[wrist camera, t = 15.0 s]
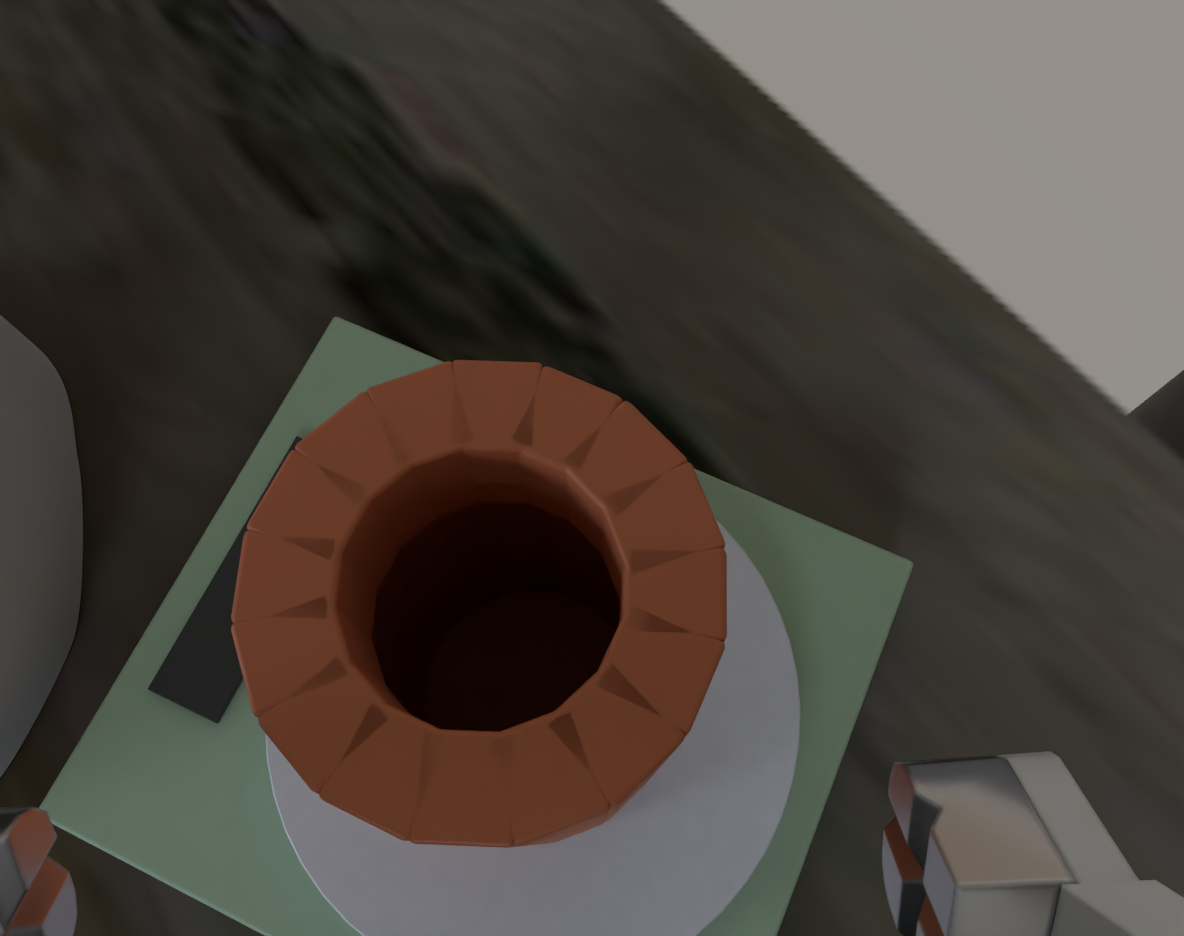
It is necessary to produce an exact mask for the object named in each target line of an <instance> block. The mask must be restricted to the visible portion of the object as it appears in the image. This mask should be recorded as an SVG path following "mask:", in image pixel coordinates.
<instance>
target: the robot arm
mask: <svg viewBox="0 0 1184 936" xmlns="http://www.w3.org/2000/svg"><path fill="white" fill-rule="evenodd" d="M888 796H889V799H890V801H891V804H892V806H893V809H894V812H895V814H896V817H895V818H894V819H893V820H892V821H891V822H890V823H889V824H888V825H887V826H886V827H885V828H884V833H883V847H882V863H883V875H884V885H885V890H886V894H887V898H888V903H889V907H890V910H891V913H892V916H893V919H894V922H895V925H896V928H897V930H898V931H899V932H900V933H902V934H903V935H904V936H1184V898H1183V897H1182V896H1180V895H1179V894H1177V893H1176V892H1174V891H1172V890H1171V889H1169V888H1168V887H1166V886H1164V885H1163V884H1161V883H1160V882H1158V881H1156V880H1142V881H1139V879H1138V878H1137V876H1136V875H1135V873H1134V872H1133V870H1132V868H1131V867H1130V865H1129V864H1128V862H1127V861H1126V859H1125V858H1124V856H1123V854H1122V853H1121V851H1120V850H1119V848H1118V847H1117V845H1116V844H1115V842H1114V841H1113V839H1112V837H1111V836H1110V834H1109V833H1108V831H1107V830H1106V828H1105V827H1104V825H1103V823H1102V822H1101V820H1100V819H1099V817H1098V816H1097V814H1096V813H1095V811H1094V810H1093V808H1092V806H1091V805H1090V803H1089V802H1088V800H1087V799H1086V797H1085V796H1084V794H1083V792H1082V791H1081V789H1080V788H1079V786H1078V785H1077V783H1076V782H1075V780H1074V779H1073V777H1072V775H1071V774H1070V772H1069V771H1068V769H1067V768H1066V766H1065V765H1064V763H1063V761H1062V760H1061V758H1060V757H1058V756H1057V755H1055V754H1054V753H1052V752H1051V751H1048V752H1033V753H1019V754H1004V755H998V756H997V757H995V756H984V757H967V758H951V759H934V760H917V761H900V762H895V763H894V765H893V768H892V770H891V772H890V778H889V786H888ZM56 838H57V835H56V833H55V830H54V828H53V825H52V823H51V820H50V818H49V815H48V813H47V811H46V810H42V809H39V808H36V807H0V936H73V934H74V929H75V924H76V919H77V906H76V892H75V888H74V885H73V882H72V879H71V876H70V873H69V871H68V870H66V869H65V868H64V867H62V866H61V865H60V864H58V863H57V862H56V861H54V860H53V859H52V858H50V857H49V856H48V855H47V854H48V853H49V851H50V849H51V847H52V845H53V844H54V842H55V840H56Z"/></svg>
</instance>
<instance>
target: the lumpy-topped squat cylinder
mask: <svg viewBox="0 0 1184 936" xmlns="http://www.w3.org/2000/svg"><path fill="white" fill-rule="evenodd" d="M82 566H83V506H82V487H81V476H80V468H79V462H78V456H77V449H76V441H75V432H74V423H73V417H72V412H71V407H70V403H69V399H68V396H67V392H66V390H65V387H64V384H63V382H62V380H61V378H60V376H59V374H58V372H57V370H56V369H55V367H54V366H53V364H52V363H51V362H50V360H49V359H48V358H47V357H46V355H45V354H44V353H43V352H42V351H41V350H40V349H39V348H38V347H37V346H35V345H34V344H33V343H32V342H31V341H30V340H29V339H27V338H26V337H25V336H24V335H23V334H22V333H21V332H19V331H18V330H17V329H16V328H15V327H14V326H13V325H11V324H10V323H9V322H8V321H7V320H6V319H5V318H3V317H2V316H1V315H0V777H1V776H2V775H3V773H4V772H5V770H6V769H7V767H8V766H9V764H10V763H11V761H12V760H13V758H14V757H15V755H16V753H17V752H18V750H19V748H20V747H21V745H22V743H23V742H24V740H25V738H26V736H27V735H28V733H29V731H30V729H31V728H32V726H33V724H34V722H35V720H36V718H37V717H38V715H39V713H40V711H41V709H42V707H43V705H44V703H45V701H46V699H47V697H48V696H49V694H50V692H51V690H52V688H53V686H54V683H55V681H56V679H57V677H58V675H59V673H60V671H61V669H62V667H63V664H64V662H65V660H66V658H67V655H68V653H69V651H70V648H71V646H72V643H73V640H74V637H75V633H76V629H77V623H78V617H79V609H80V599H81V586H82Z"/></svg>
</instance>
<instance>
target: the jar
mask: <svg viewBox="0 0 1184 936" xmlns="http://www.w3.org/2000/svg"><path fill="white" fill-rule="evenodd" d="M295 449H296V450H292V451H291V452H290V453H289V454H288V456H287V458H286V459H285V461H284V463H283V464H282V466H281V468H280V469H279V471H278V473H277V475H276V476H275V478H274V480H273V481H272V483H271V485H270V486H269V488H268V490H267V491H266V493H265V495H264V497H263V498H262V500H261V502H260V503H259V505H258V507H257V508H256V510H255V512H254V514H253V515H252V517H251V519H250V520H249V522H248V525H247V529H248V530H249V531H247V532H245V534H244V537H243V543H242V549H241V556H240V562H239V569H238V575H237V582H236V588H235V595H234V601H233V608H232V614H231V618H232V622H233V623H234V624H233V625H232V627H231V632H232V636H233V640H234V644H235V648H236V652H237V655H238V659H239V663H240V667H241V671H242V675H243V679H244V683H245V687H246V690H247V694H248V698H249V702H250V706H251V710H252V713H253V714H254V715H255V717H258V721H259V725H260V727H261V728H262V729H263V731H264V732H265V733H266V734H267V736H268V737H269V738H270V739H271V741H272V742H273V743H274V744H275V746H276V747H277V748H278V749H279V751H280V752H281V753H282V754H283V756H284V757H285V758H286V759H287V761H288V762H289V763H290V764H291V766H292V767H293V768H294V769H295V771H296V772H297V773H298V774H299V776H300V777H301V778H302V779H303V781H304V782H305V783H306V784H307V786H308V787H309V788H310V789H311V791H313V792H315V793H317V794H319V797H320V798H321V799H322V800H323V801H325V802H327V803H329V804H331V805H333V806H335V807H337V808H339V809H341V810H343V811H345V812H347V813H349V814H351V815H353V816H355V817H357V818H359V819H361V820H363V821H365V822H367V823H369V824H371V825H373V826H375V827H377V828H379V829H381V830H383V831H385V832H387V833H389V834H391V835H392V836H394V837H396V838H398V839H400V840H402V841H411V842H412V843H414V844H430V845H454V846H478V847H502V848H510V847H521V846H529V845H540V844H549V843H555V842H558V841H561V840H563V839H566V838H569V837H571V836H574V835H577V834H580V833H582V832H584V831H587V830H589V829H592V828H594V827H597V826H599V825H602V824H603V823H604V822H605V821H608V820H609V819H610V818H612V817H613V816H614V815H615V814H616V813H617V812H618V811H619V810H620V809H621V808H622V807H623V806H624V805H625V804H626V803H627V802H628V801H629V800H630V799H631V798H632V797H633V796H634V795H635V794H636V793H637V792H638V791H639V790H640V789H641V788H642V787H643V786H644V785H645V784H646V783H647V782H648V781H649V779H650V778H651V777H652V776H653V775H654V774H655V773H656V771H657V770H658V769H659V768H660V767H661V766H662V765H663V763H664V762H665V761H666V760H667V759H668V758H669V757H670V755H671V754H672V753H673V752H674V751H675V750H676V749H677V748H678V746H679V745H680V744H681V743H682V742H683V741H684V738H685V736H686V735H687V734H688V733H689V732H690V730H691V728H692V726H693V723H694V721H695V719H696V716H697V714H698V711H699V709H700V707H701V704H702V702H703V699H704V697H705V695H706V692H707V690H708V688H709V685H710V683H711V680H712V678H713V676H714V673H715V671H716V668H717V666H718V664H719V661H720V659H721V657H722V654H723V652H724V649H725V644H724V641H725V639H726V637H727V554H726V552H725V549H724V547H725V541H724V538H723V536H722V534H721V531H720V529H719V527H718V524H717V522H716V520H715V517H714V515H713V513H712V510H711V508H710V506H709V503H708V501H707V498H706V496H705V494H704V491H703V489H702V487H701V484H700V482H699V480H698V477H697V475H696V473H695V470H694V468H693V466H692V464H691V463H687V460H686V457H685V456H684V455H683V454H682V453H681V452H680V451H679V450H678V449H677V448H676V447H675V446H674V445H673V444H672V443H671V442H670V441H669V440H668V439H667V438H666V437H665V436H664V435H663V434H661V433H660V432H659V431H658V430H657V429H656V428H655V427H654V426H653V425H652V424H651V423H650V422H649V421H648V420H647V419H646V418H645V417H644V416H643V415H642V414H641V413H640V412H639V411H638V410H637V409H636V408H635V407H634V406H633V405H632V404H631V403H629V402H627V401H624V402H623V400H622V399H621V398H620V397H619V396H617V395H615V394H613V393H610V392H608V391H606V390H603V389H601V388H598V387H596V386H594V385H591V384H589V383H587V382H584V381H582V380H579V379H577V378H575V377H572V376H570V375H568V374H565V373H563V372H560V371H558V370H556V369H553V368H551V367H542V365H541V364H540V363H536V362H506V361H477V360H455V361H454V362H453V363H452V362H451V361H447V362H444V363H441V364H438V365H435V366H432V367H429V368H426V369H423V370H420V371H417V372H414V373H411V374H408V375H405V376H402V377H399V378H396V379H393V380H390V381H387V382H384V383H381V384H378V385H375V386H372V387H370V388H368V389H367V392H361V393H360V394H358V395H357V396H356V397H355V398H353V399H352V400H351V401H350V402H348V403H347V404H346V405H345V406H343V407H342V408H341V409H340V410H338V411H337V412H336V413H335V414H333V415H332V416H331V417H330V418H328V419H327V420H326V421H325V422H323V423H322V424H321V425H320V426H318V427H317V428H316V429H315V430H313V431H312V432H311V433H310V434H308V435H307V436H306V437H305V438H303V439H302V440H301V441H300V442H298V443H297V445H296V446H295Z"/></svg>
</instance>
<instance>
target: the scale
mask: <svg viewBox="0 0 1184 936" xmlns="http://www.w3.org/2000/svg"><path fill="white" fill-rule="evenodd" d="M441 363H444V362H442V361H440V360H438V359H435V358H433V357H431V356H428V355H426V354H424V353H421V352H419V351H417V350H414V349H412V348H410V347H407V346H405V345H403V344H400V343H398V342H395V341H393V340H391V339H388V338H386V337H384V336H381V335H379V334H377V333H374V332H372V331H370V330H367V329H365V328H363V327H360V326H358V325H356V324H353V323H351V322H349V321H346V320H344V319H341V318H339V317H334V318H333V319H332V321H331V323H330V324H329V326H328V328H327V329H326V331H325V333H324V334H323V336H322V338H321V339H320V341H319V343H318V344H317V346H316V348H315V349H314V351H313V353H312V354H311V356H310V358H309V359H308V361H307V363H306V364H305V366H304V368H303V369H302V371H301V373H300V374H299V376H298V378H297V379H296V381H295V383H294V384H293V386H292V388H291V389H290V391H289V393H288V394H287V396H286V398H285V399H284V401H283V403H282V404H281V406H280V408H279V409H278V411H277V413H276V414H275V416H274V418H273V419H272V421H271V423H270V424H269V426H268V428H267V429H266V431H265V433H264V434H263V436H262V438H261V439H260V441H259V443H258V444H257V446H256V448H255V449H254V451H253V453H252V454H251V456H250V458H249V459H248V461H247V463H246V464H245V466H244V468H243V469H242V471H241V473H240V474H239V476H238V478H237V479H236V481H235V483H234V484H233V486H232V487H231V489H230V491H229V492H228V494H227V496H226V497H225V499H224V501H223V502H222V504H221V506H220V507H219V509H218V511H217V512H216V514H215V516H214V517H213V519H212V521H211V522H210V524H209V526H208V527H207V529H206V531H205V532H204V534H203V536H202V537H201V539H200V541H199V542H198V544H197V546H196V547H195V549H194V551H193V552H192V554H191V556H190V557H189V559H188V561H187V562H186V564H185V566H184V567H183V569H182V571H181V572H180V574H179V576H178V577H177V579H176V581H175V582H174V584H173V586H172V587H171V589H170V591H169V592H168V594H167V596H166V597H165V599H164V601H163V602H162V604H161V606H160V607H159V609H158V611H157V612H156V614H155V616H154V617H153V619H152V621H151V622H150V624H149V626H148V627H147V629H146V631H145V632H144V634H143V636H142V637H141V639H140V641H139V642H138V644H137V646H136V647H135V649H134V651H133V652H132V654H131V656H130V657H129V659H128V661H127V662H126V664H125V666H124V667H123V669H122V671H121V672H120V674H119V676H118V677H117V679H116V681H115V682H114V684H113V686H112V687H111V689H110V691H109V692H108V694H107V696H106V697H105V699H104V701H103V702H102V704H101V706H100V707H99V709H98V711H97V712H96V714H95V716H94V717H93V719H92V721H91V722H90V724H89V726H88V727H87V729H86V731H85V732H84V734H83V736H82V737H81V739H80V741H79V742H78V744H77V746H76V747H75V749H74V751H73V752H72V754H71V756H70V757H69V759H68V761H67V762H66V764H65V766H64V767H63V769H62V771H61V772H60V774H59V776H58V777H57V779H56V781H55V782H54V784H53V786H52V787H51V789H50V791H49V792H48V794H47V796H46V797H45V799H44V800H43V802H42V804H41V805H40V807H39V809H42V810H46V811H47V813H48V815H49V818H50V820H51V823H52V824H54V825H56V826H58V827H59V828H61V829H63V830H65V831H67V832H69V833H71V834H73V835H75V836H77V837H78V838H80V839H82V840H84V841H86V842H88V843H90V844H92V845H94V846H96V847H97V848H99V849H101V850H103V851H105V852H107V853H109V854H111V855H113V856H115V857H116V858H118V859H120V860H122V861H124V862H126V863H128V864H130V865H132V866H134V867H135V868H137V869H139V870H141V871H143V872H145V873H147V874H149V875H151V876H153V877H154V878H156V879H158V880H160V881H162V882H164V883H166V884H168V885H170V886H172V887H173V888H175V889H177V890H179V891H181V892H183V893H185V894H187V895H189V896H191V897H192V898H194V899H196V900H198V901H200V902H202V903H204V904H206V905H208V906H210V907H211V908H213V909H215V910H217V911H219V912H221V913H223V914H225V915H227V916H229V917H230V918H232V919H234V920H236V921H238V922H240V923H242V924H244V925H246V926H248V927H249V928H251V929H253V930H255V931H257V932H259V933H261V934H263V935H265V936H777V934H778V931H779V928H780V926H781V923H782V920H783V918H784V915H785V912H786V910H787V907H788V904H789V901H790V899H791V896H792V893H793V891H794V888H795V885H796V882H797V880H798V877H799V874H800V872H801V869H802V866H803V864H804V861H805V858H806V855H807V853H808V850H809V847H810V845H811V842H812V839H813V836H814V834H815V831H816V828H817V826H818V823H819V820H820V817H821V815H822V812H823V809H824V807H825V804H826V801H827V799H828V796H829V793H830V790H831V788H832V785H833V782H834V780H835V777H836V774H837V771H838V769H839V766H840V763H841V761H842V758H843V755H844V753H845V750H846V747H847V744H848V742H849V739H850V736H851V734H852V731H853V728H854V725H855V723H856V720H857V717H858V715H859V712H860V709H861V706H862V704H863V701H864V698H865V696H866V693H867V690H868V688H869V685H870V682H871V679H872V677H873V674H874V671H875V669H876V666H877V663H878V660H879V658H880V655H881V652H882V650H883V647H884V644H885V641H886V639H887V636H888V633H889V631H890V628H891V625H892V623H893V620H894V617H895V614H896V612H897V609H898V606H899V604H900V601H901V598H902V595H903V593H904V590H905V587H906V585H907V582H908V579H909V577H910V574H911V571H912V568H913V563H912V562H911V561H910V560H907V559H905V558H903V557H900V556H898V555H896V554H893V553H891V552H889V551H886V550H884V549H882V548H879V547H877V546H874V545H872V544H870V543H867V542H865V541H863V540H860V539H858V538H856V537H853V536H851V535H849V534H846V533H844V532H842V531H839V530H837V529H835V528H832V527H830V526H828V525H825V524H823V523H820V522H818V521H816V520H813V519H811V518H809V517H806V516H804V515H802V514H799V513H797V512H795V511H792V510H790V509H788V508H785V507H783V506H781V505H778V504H776V503H774V502H771V501H769V500H766V499H764V498H762V497H759V496H757V495H755V494H752V493H750V492H748V491H745V490H743V489H741V488H738V487H736V486H734V485H731V484H729V483H727V482H724V481H722V480H720V479H717V478H715V477H712V476H710V475H708V474H705V473H703V472H701V471H698V470H696V469H694V470H695V473H696V475H697V477H698V480H699V482H700V484H701V487H702V489H703V491H704V494H705V496H706V498H707V501H708V503H709V506H710V508H711V510H712V513H713V515H714V517H715V520H716V522H717V524H718V527H719V529H720V531H721V534H722V536H723V538H724V541H725V547H724V549H725V552H726V554H727V637H726V639H725V641H724V644H725V649H724V652H723V654H722V657H721V659H720V661H719V664H718V666H717V668H716V671H715V673H714V676H713V678H712V680H711V683H710V685H709V688H708V690H707V692H706V695H705V697H704V699H703V702H702V704H701V707H700V709H699V711H698V714H697V716H696V719H695V721H694V723H693V726H692V728H691V730H690V732H689V733H688V734H687V735H686V736H685V738H684V741H683V742H682V743H681V744H680V745H679V746H678V748H677V749H676V750H675V751H674V752H673V753H672V754H671V755H670V757H669V758H668V759H667V760H666V761H665V762H664V763H663V765H662V766H661V767H660V768H659V769H658V770H657V771H656V773H655V774H654V775H653V776H652V777H651V778H650V779H649V781H648V782H647V783H646V784H645V785H644V786H643V787H642V788H641V789H640V790H639V791H638V792H637V793H636V794H635V795H634V796H633V797H632V798H631V799H630V800H629V801H628V802H627V803H626V804H625V805H624V806H623V807H622V808H621V809H620V810H619V811H618V812H617V813H616V814H615V815H614V816H613V817H612V818H610V819H609V820H608V821H605V822H604V823H603V824H602V825H599V826H597V827H594V828H592V829H589V830H587V831H584V832H582V833H580V834H577V835H574V836H571V837H569V838H566V839H563V840H561V841H558V842H555V843H549V844H540V845H529V846H521V847H510V848H502V847H478V846H454V845H430V844H414V843H412V842H411V841H402V840H400V839H398V838H396V837H394V836H392V835H391V834H389V833H387V832H385V831H383V830H381V829H379V828H377V827H375V826H373V825H371V824H369V823H367V822H365V821H363V820H361V819H359V818H357V817H355V816H353V815H351V814H349V813H347V812H345V811H343V810H341V809H339V808H337V807H335V806H333V805H331V804H329V803H327V802H325V801H323V800H322V799H321V798H320V797H319V794H317V793H315V792H313V791H311V789H310V788H309V787H308V786H307V784H306V783H305V782H304V781H303V779H302V778H301V777H300V776H299V774H298V773H297V772H296V771H295V769H294V768H293V767H292V766H291V764H290V763H289V762H288V761H287V759H286V758H285V757H284V756H283V754H282V753H281V752H280V751H279V749H278V748H277V747H276V746H275V744H274V743H273V742H272V741H271V739H270V738H269V737H268V736H267V734H266V733H265V732H264V731H263V729H262V728H261V727H260V725H259V721H258V717H255V715H254V714H253V713H252V710H251V706H250V702H249V698H248V694H247V690H246V687H245V683H244V679H243V675H242V671H241V667H240V663H239V659H238V655H237V652H236V648H235V644H234V640H233V636H232V632H231V627H232V625H233V624H234V623H233V622H232V618H231V614H232V608H233V601H234V595H235V588H236V582H237V575H238V569H239V562H240V556H241V549H242V543H243V537H244V534H245V532H247V531H249V530H248V529H247V525H248V522H249V520H250V519H251V517H252V515H253V514H254V512H255V510H256V508H257V507H258V505H259V503H260V502H261V500H262V498H263V497H264V495H265V493H266V491H267V490H268V488H269V486H270V485H271V483H272V481H273V480H274V478H275V476H276V475H277V473H278V471H279V469H280V468H281V466H282V464H283V463H284V461H285V459H286V458H287V456H288V454H289V453H290V452H291V451H292V450H296V449H295V446H296V445H297V443H298V442H300V441H301V440H302V439H303V438H305V437H306V436H307V435H308V434H310V433H311V432H312V431H313V430H315V429H316V428H317V427H318V426H320V425H321V424H322V423H323V422H325V421H326V420H327V419H328V418H330V417H331V416H332V415H333V414H335V413H336V412H337V411H338V410H340V409H341V408H342V407H343V406H345V405H346V404H347V403H348V402H350V401H351V400H352V399H353V398H355V397H356V396H357V395H358V394H360V393H361V392H367V389H368V388H370V387H372V386H375V385H378V384H381V383H384V382H387V381H390V380H393V379H396V378H399V377H402V376H405V375H408V374H411V373H414V372H417V371H420V370H423V369H426V368H429V367H432V366H435V365H438V364H441Z"/></svg>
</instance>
